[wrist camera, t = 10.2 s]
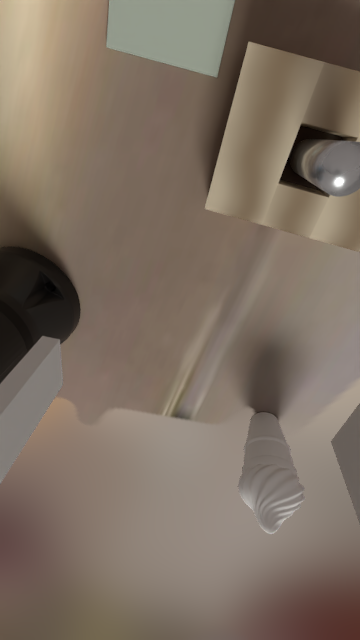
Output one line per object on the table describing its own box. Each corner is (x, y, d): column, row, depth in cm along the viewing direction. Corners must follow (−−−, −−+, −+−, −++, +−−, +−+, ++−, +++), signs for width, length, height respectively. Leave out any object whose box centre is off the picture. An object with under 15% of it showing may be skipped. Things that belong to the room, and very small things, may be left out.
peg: (284, 170, 29) (310, 189, 19) (297, 134, 27) (333, 135, 17) (314, 178, 29) (356, 201, 19) (329, 143, 27) (384, 148, 17)
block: (207, 200, 31) (204, 208, 28) (247, 53, 25) (248, 41, 21) (353, 241, 31) (367, 254, 28) (432, 104, 25) (463, 99, 21)
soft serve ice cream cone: (264, 394, 45) (276, 505, 31) (303, 422, 46) (329, 538, 33) (227, 419, 49) (223, 526, 36) (263, 444, 51) (273, 554, 37)
